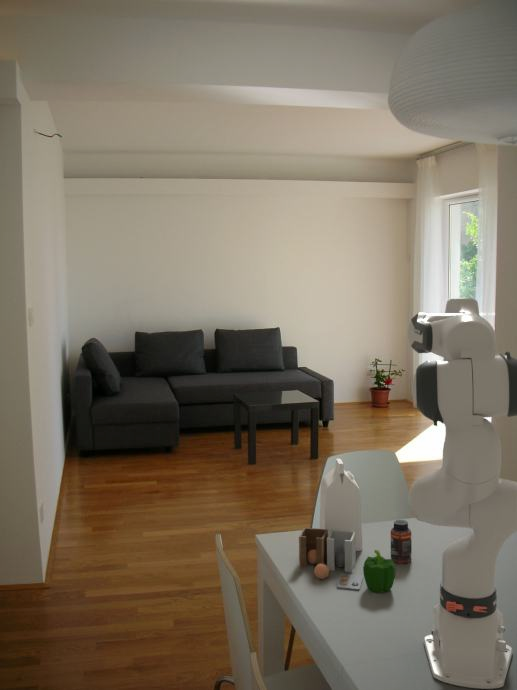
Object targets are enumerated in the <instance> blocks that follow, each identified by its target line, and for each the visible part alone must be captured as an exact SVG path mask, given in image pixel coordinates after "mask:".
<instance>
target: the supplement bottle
mask: <svg viewBox="0 0 517 690" xmlns="http://www.w3.org/2000/svg"><path fill="white" fill-rule="evenodd" d="M412 545H413V544H412V531H411V529H410V528H409V522H408V521H406V520H404V519H397V520H394V521H393V527H392V528H391V530H390V559H392V560H393V563H397V564H408V563H409V562H411V561H412V550H413V549H412Z"/></svg>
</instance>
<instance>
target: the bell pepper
mask: <svg viewBox="0 0 517 690" xmlns="http://www.w3.org/2000/svg"><path fill="white" fill-rule="evenodd" d="M374 553H375V554H376V556H373V557H372V556H367V557H366V559H365V560H364V563H363V568H362V569H363V579H364V581H365V584H366V587H367V589H368V591H370V592H371V593H375V594H382V593H383V592H384V593H388V592H390V591H391V589H392V588H393V585H394V583H395V577H396V566H395V562H394V561H393V560H392V559H391V558H385V557H384V556H382V555H381V551H380V550H379V549H374Z"/></svg>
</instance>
